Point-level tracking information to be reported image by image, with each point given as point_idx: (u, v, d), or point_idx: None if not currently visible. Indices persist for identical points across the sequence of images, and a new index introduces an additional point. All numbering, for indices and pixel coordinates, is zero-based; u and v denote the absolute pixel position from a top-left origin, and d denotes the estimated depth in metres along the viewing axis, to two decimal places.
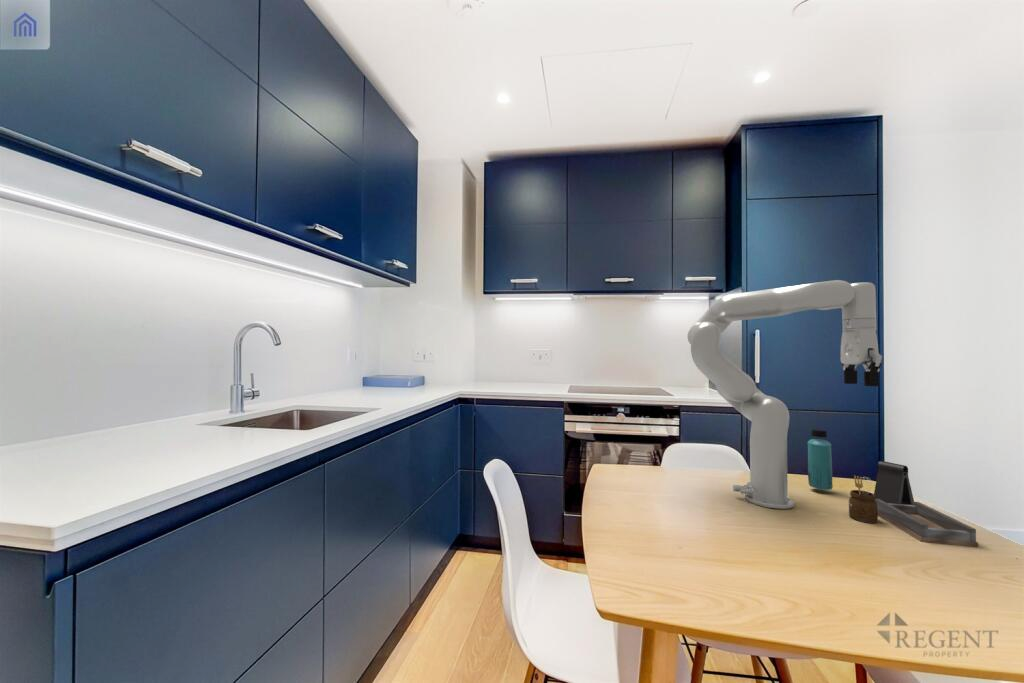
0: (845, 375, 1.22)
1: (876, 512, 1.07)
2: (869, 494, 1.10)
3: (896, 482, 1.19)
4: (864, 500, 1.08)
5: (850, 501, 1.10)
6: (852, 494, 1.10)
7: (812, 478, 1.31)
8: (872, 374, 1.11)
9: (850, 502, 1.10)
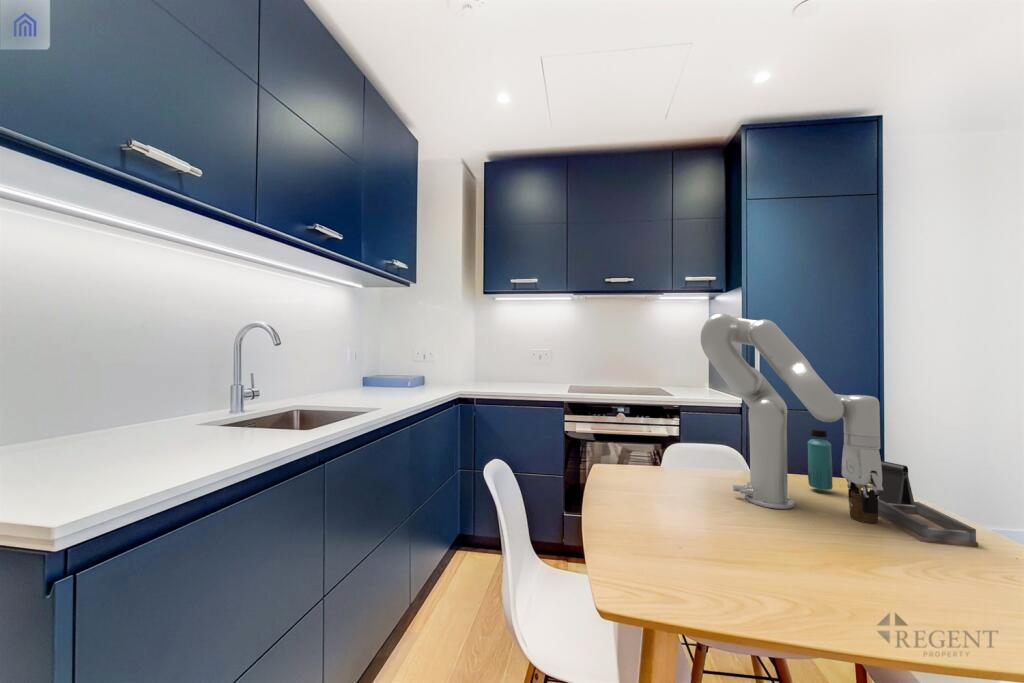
0: (850, 495, 1.13)
1: None
2: None
3: (896, 482, 1.19)
4: None
5: (851, 501, 1.10)
6: (853, 494, 1.10)
7: (812, 478, 1.31)
8: (871, 501, 1.06)
9: (851, 502, 1.10)
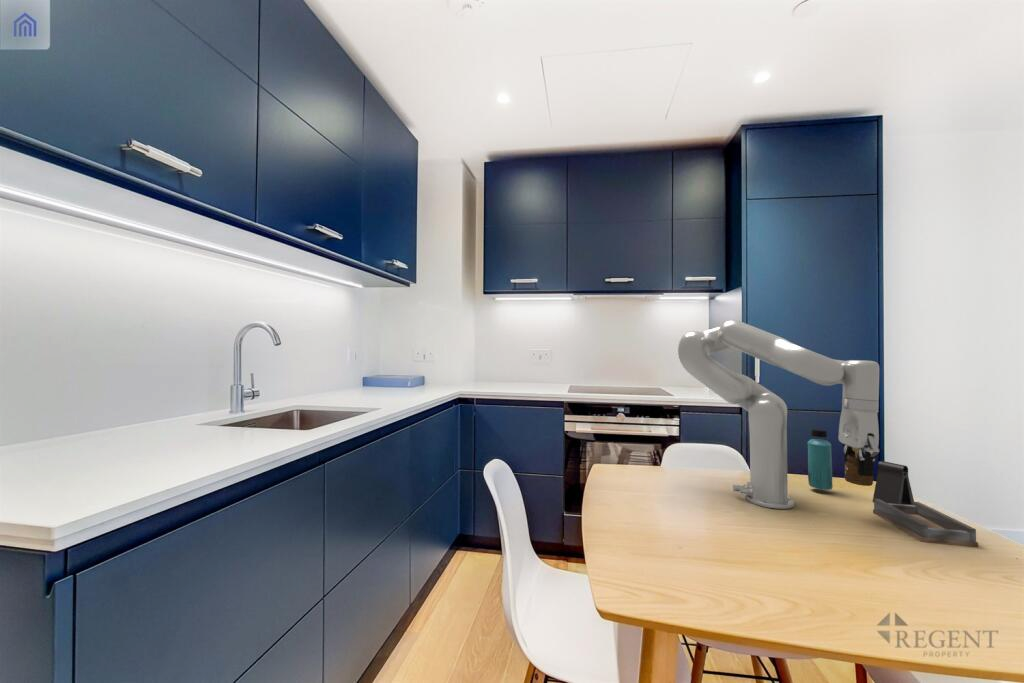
0: (846, 459, 1.14)
1: None
2: None
3: (896, 482, 1.19)
4: None
5: (846, 465, 1.11)
6: (848, 458, 1.11)
7: (812, 478, 1.31)
8: (866, 464, 1.06)
9: (846, 466, 1.11)
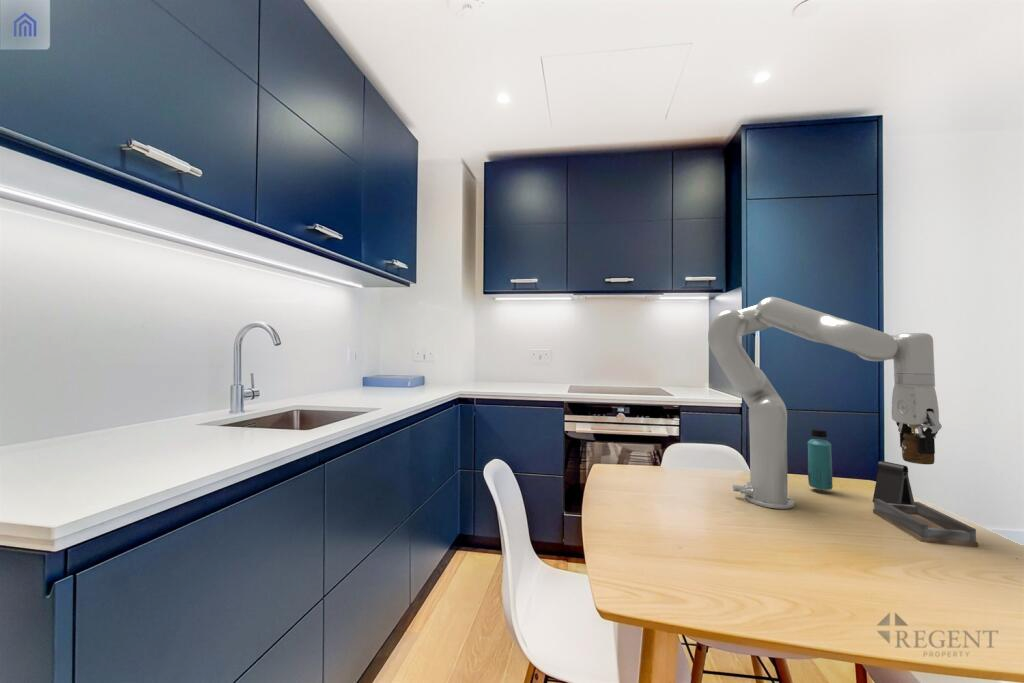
0: (902, 438, 1.08)
1: None
2: None
3: (896, 482, 1.19)
4: None
5: (904, 444, 1.05)
6: (906, 436, 1.05)
7: (812, 478, 1.31)
8: (927, 441, 1.01)
9: (904, 445, 1.05)
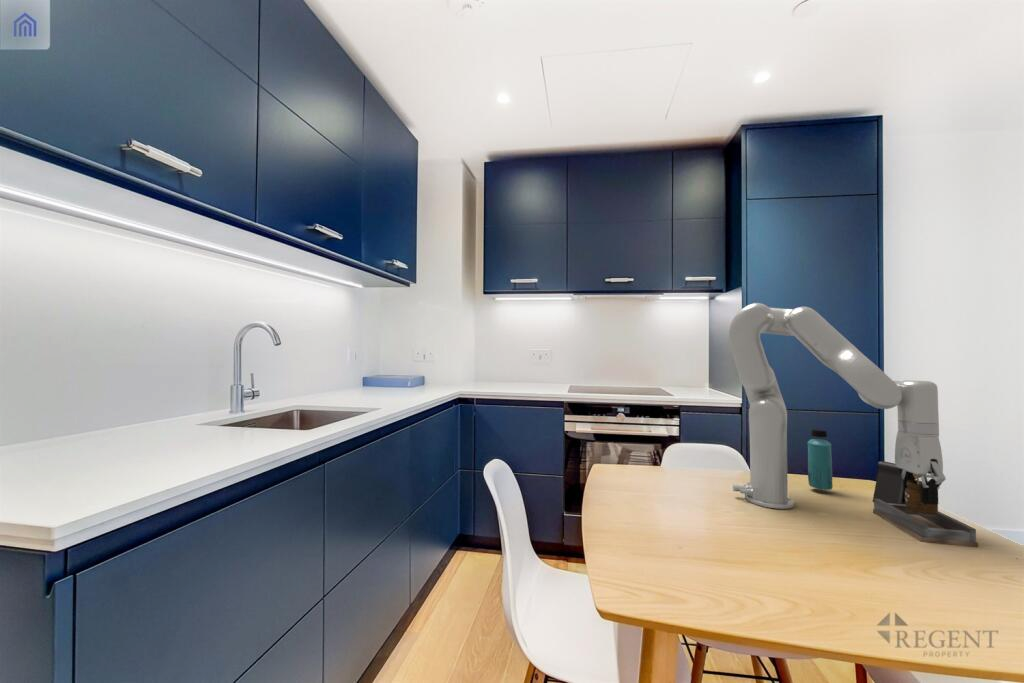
0: (905, 485, 1.07)
1: None
2: None
3: (896, 482, 1.19)
4: None
5: (907, 492, 1.05)
6: (909, 484, 1.04)
7: (812, 478, 1.31)
8: (931, 491, 1.00)
9: (907, 493, 1.05)
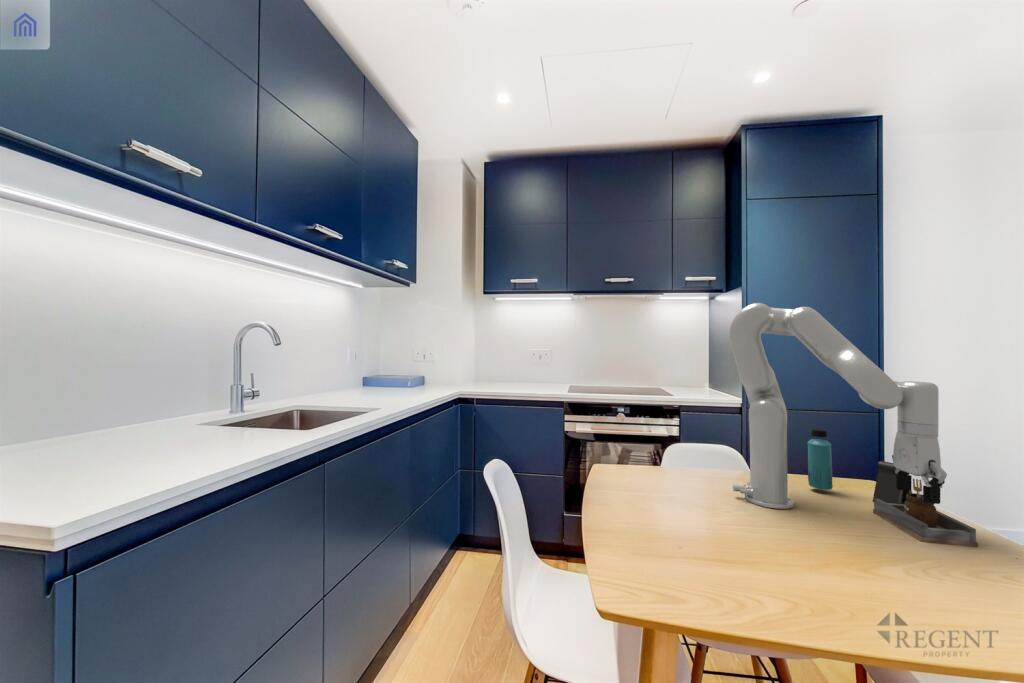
0: (898, 480, 1.09)
1: (935, 517, 1.01)
2: None
3: None
4: (923, 505, 1.02)
5: (906, 505, 1.05)
6: (909, 498, 1.04)
7: (812, 478, 1.31)
8: (933, 490, 0.99)
9: (906, 506, 1.05)
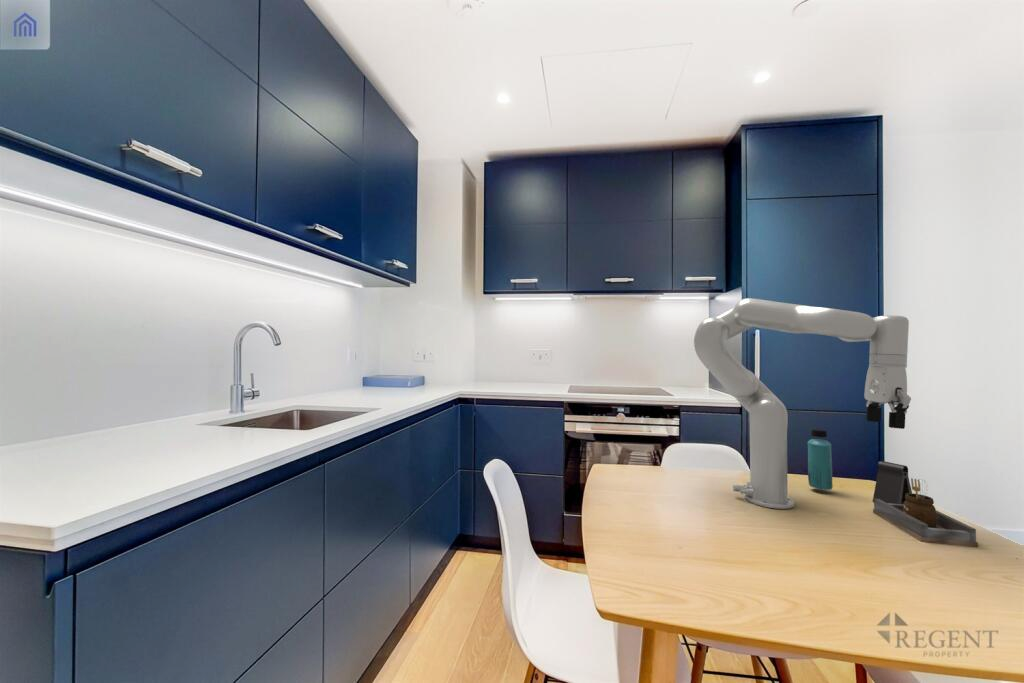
0: (868, 412, 1.14)
1: (935, 517, 1.02)
2: (925, 497, 1.05)
3: (896, 482, 1.19)
4: (922, 504, 1.02)
5: (906, 505, 1.05)
6: (908, 498, 1.04)
7: (812, 478, 1.31)
8: (898, 416, 1.04)
9: (906, 506, 1.05)
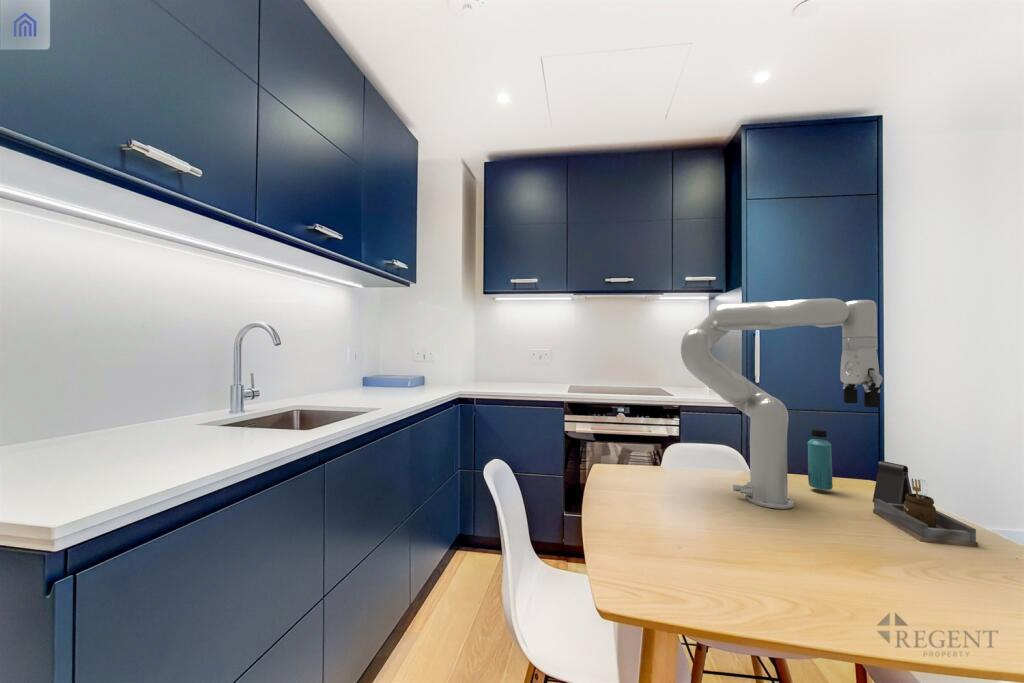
0: (845, 394, 1.19)
1: (935, 517, 1.02)
2: (926, 498, 1.05)
3: (896, 482, 1.19)
4: (922, 505, 1.02)
5: (906, 505, 1.05)
6: (908, 498, 1.04)
7: (812, 478, 1.31)
8: (872, 395, 1.08)
9: (906, 506, 1.05)
